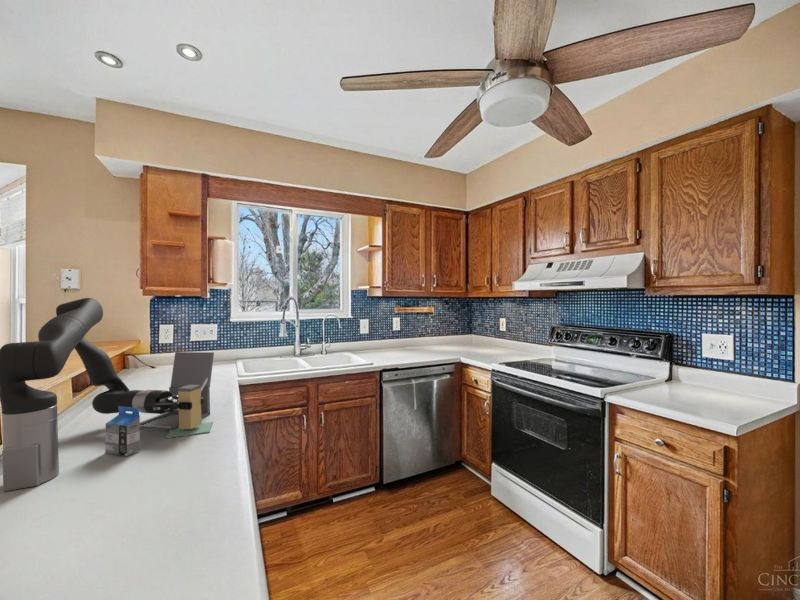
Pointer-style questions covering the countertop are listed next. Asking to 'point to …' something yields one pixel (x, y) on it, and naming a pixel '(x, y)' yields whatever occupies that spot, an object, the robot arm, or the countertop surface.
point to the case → (188, 381)
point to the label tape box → (123, 432)
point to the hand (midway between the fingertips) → (197, 403)
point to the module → (192, 416)
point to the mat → (191, 430)
